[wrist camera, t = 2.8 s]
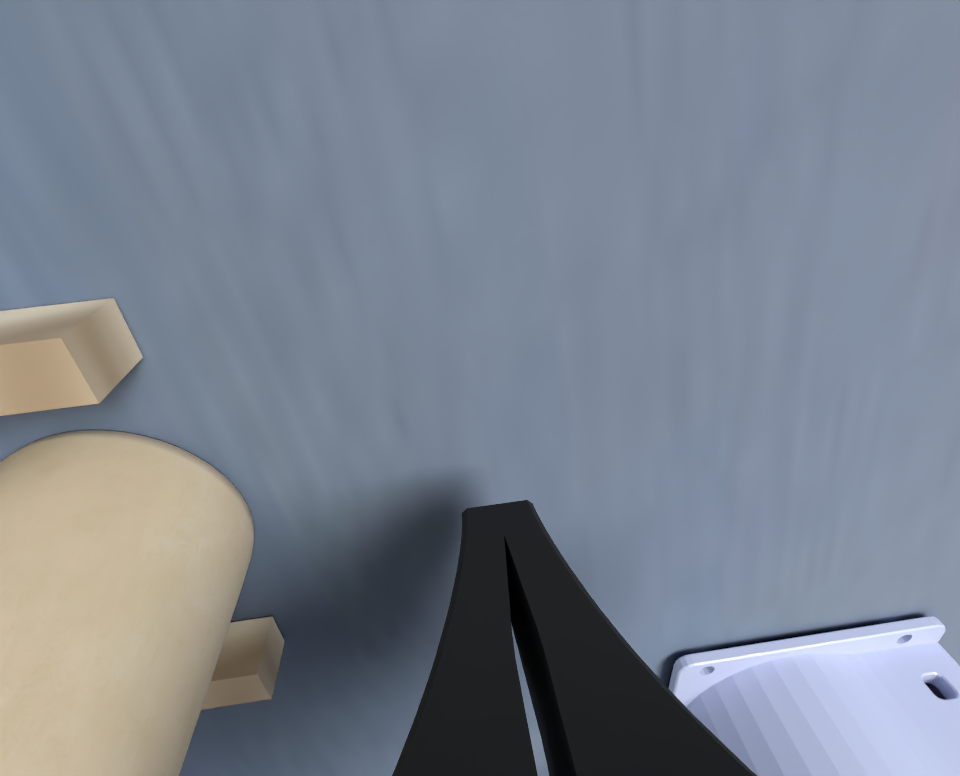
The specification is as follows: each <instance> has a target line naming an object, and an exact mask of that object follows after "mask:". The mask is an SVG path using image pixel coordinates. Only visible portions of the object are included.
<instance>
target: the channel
mask: <svg viewBox="0 0 960 776" xmlns="http://www.w3.org/2000/svg"><path fill="white" fill-rule="evenodd" d="M142 358H143V356H142V354H141V352H140V350H139V348H138V346H137V344H136V342H135V340H134V338H133V336H132V334H131V332H130V330H129V328H128V326H127V324H126V322H125V320H124V318H123V316H122V314H121V312H120V310H119V308H118V306H117V304H116V302H115V300H114V298H111V299H102V300H93V301H85V302H76V303H67V304H59V305H50V306H41V307H32V308H24V309H15V310H6V311H0V416H3V415H11V414H19V413H27V412H35V411H43V410H51V409H59V408H67V407H75V406H83V405H91V404H99V403H100V402H101V401H102V400H103V399H104V398H105V397H106V396H107V395H108V394H109V393H110V392H111V391H112V389H113V388H114V387H115V386H116V385H117V384H118V383H119V382H120V381H121V380H122V379H123V378H124V377H125V376H126V375H127V374H128V373H129V372H130V371H131V369H132V368H133V367H134V366H135V365H136V364H137V363H138V362H139V361H140V360H141V359H142ZM284 642H285V641H284V639H283V637H282V635H281V633H280V631H279V629H278V627H277V625H276V623H275V621H274V619H273V617H272V616H271V617H264V618H258V619H251V620H244V621H237V622H231V623H230V625H229V628H228V631H227V634H226V637H225V640H224V643H223V646H222V649H221V652H220V655H219V658H218V661H217V664H216V667H215V670H214V673H213V676H212V679H211V682H210V685H209V688H208V691H207V694H206V697H205V700H204V703H203V706H202V709H201V710H204V709H211V708H217V707H223V706H230V705H236V704H243V703H249V702H255V701H262V700H268V699H272V695H273V691H274V687H275V682H276V678H277V673H278V669H279V665H280V660H281V656H282V651H283V647H284Z"/></svg>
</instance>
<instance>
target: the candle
mask: <svg viewBox="0 0 960 776" xmlns="http://www.w3.org/2000/svg"><path fill="white" fill-rule="evenodd" d="M253 545H254V523H253V518H252V515H251V512H250V510H249V507H248V505H247V503H246V502H245V500H244V498H243V497H242V495H241V494H240V492H239V491H238V490H237V489H236V487H235V486H234V485H233V484H232V483H231V482H230V481H229V480H228V479H227V478H226V477H225V476H224V475H223V474H222V473H220V472H219V471H218V470H216V469H215V468H214V467H212V466H211V465H210V464H208V463H207V462H205V461H203V460H202V459H200V458H198V457H197V456H195V455H193V454H191V453H189V452H187V451H185V450H183V449H181V448H179V447H176V446H173V445H171V444H168V443H166V442H163V441H160V440H156V439H153V438H149V437H146V436H142V435H136V434H131V433H126V432H117V431H107V430H83V431H73V432H65V433H61V434H56V435H51V436H48V437H45V438H42V439H39V440H36V441H34V442H32V443H30V444H28V445H26V446H24V447H22V448H21V449H19V450H18V451H16V452H14V453H13V454H11V455H10V456H8V457H7V458H6V459H4V460H3V461H2V462H0V776H179V775H180V772H181V769H182V766H183V763H184V760H185V757H186V754H187V751H188V748H189V745H190V742H191V739H192V736H193V733H194V730H195V727H196V724H197V721H198V718H199V715H200V712H201V709H202V706H203V703H204V700H205V697H206V694H207V691H208V688H209V685H210V682H211V679H212V676H213V673H214V670H215V667H216V664H217V661H218V658H219V655H220V652H221V649H222V646H223V643H224V640H225V637H226V634H227V631H228V628H229V625H230V622H231V619H232V616H233V613H234V610H235V607H236V604H237V601H238V598H239V595H240V592H241V589H242V586H243V583H244V579H245V576H246V573H247V570H248V566H249V563H250V560H251V556H252V551H253Z"/></svg>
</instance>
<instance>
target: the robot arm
mask: <svg viewBox="0 0 960 776" xmlns="http://www.w3.org/2000/svg"><path fill="white" fill-rule="evenodd" d="M511 623H512V627H513V631H514V635H515V638H516V642H517V646H518V650H519V654H520V658H521V662H522V665H523V669H524V673H525V677H526V681H527V685H528V688H529V692H530V696H531V700H532V704H533V708H534V711H535V715H536V719H537V723H538V727H539V731H540V734H541V738H542V743H543V747H544V752H545V756H546V761H547V765H548V771H549V776H960V666H959V665H958V664H957V663H956V662H955V660H954V659H953V658H952V657H951V656H950V655H949V654H948V653H947V652H946V651H945V650H944V648H943V647H942V646H941V645H940V644H939V643H937V642H938V641H939V640H940V638H941V637H942V635H943V634H944V632H945V626H944V625H943V624H942V623H941V622H940V621H939V620H938V619H937V618H936V617H932V616H927V617H920V618H914V619H908V620H902V621H895V622H889V623H883V624H876V625H870V626H864V627H857V628H851V629H845V630H838V631H832V632H826V633H820V634H813V635H807V636H801V637H794V638H788V639H782V640H775V641H769V642H763V643H757V644H750V645H744V646H738V647H731V648H725V649H719V650H712V651H706V652H700V653H694V654H688V655H684V656H682V657H680V658H679V659H677V660H676V662H675V664H674V666H673V670H672V675H671V679H670V684H669V688H667V687H666V686H665V684H664V683H663V682H662V681H661V680H660V679H659V678H658V677H657V676H656V675H655V674H654V672H653V671H652V670H651V669H650V668H649V667H648V666H647V665H646V664H645V662H644V661H643V660H642V659H641V658H640V657H639V656H638V655H637V653H636V652H635V651H634V650H633V649H632V648H631V646H630V645H629V644H628V643H627V642H626V640H625V639H624V638H623V637H622V636H621V634H620V633H619V632H618V631H617V630H616V628H615V627H614V626H613V625H612V623H611V622H610V621H609V620H608V618H607V617H606V616H605V615H604V613H603V612H602V611H601V610H600V608H599V607H598V606H597V604H596V603H595V602H594V600H593V599H592V598H591V596H590V595H589V594H588V592H587V591H586V589H585V588H584V587H583V585H582V584H581V582H580V581H579V580H578V578H577V577H576V575H575V574H574V573H573V571H572V570H571V568H570V567H569V565H568V564H567V562H566V561H565V559H564V558H563V557H562V555H561V553H560V552H559V550H558V549H557V547H556V545H555V544H554V542H553V541H552V539H551V537H550V536H549V534H548V532H547V531H546V529H545V527H544V525H543V524H542V522H541V520H540V518H539V516H538V514H537V512H536V510H535V508H534V506H533V504H532V503H531V502H529V501H528V500H524V501H517V502H510V503H502V504H495V505H488V506H481V507H474V508H467V509H466V510H465V511H464V512H463V513H462V539H461V548H460V555H459V561H458V568H457V573H456V578H455V582H454V587H453V592H452V596H451V601H450V606H449V610H448V614H447V618H446V621H445V625H444V628H443V632H442V636H441V639H440V643H439V646H438V650H437V654H436V657H435V660H434V663H433V666H432V670H431V673H430V676H429V679H428V682H427V685H426V688H425V691H424V694H423V697H422V699H421V702H420V705H419V708H418V711H417V714H416V716H415V719H414V722H413V724H412V727H411V730H410V732H409V735H408V737H407V740H406V742H405V745H404V748H403V750H402V753H401V755H400V758H399V760H398V763H397V765H396V768H395V770H394V773H393V775H392V776H537V771H536V765H535V760H534V755H533V750H532V745H531V739H530V734H529V729H528V724H527V719H526V713H525V708H524V703H523V697H522V692H521V687H520V681H519V676H518V671H517V665H516V660H515V653H514V645H513V637H512V627H511Z"/></svg>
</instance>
